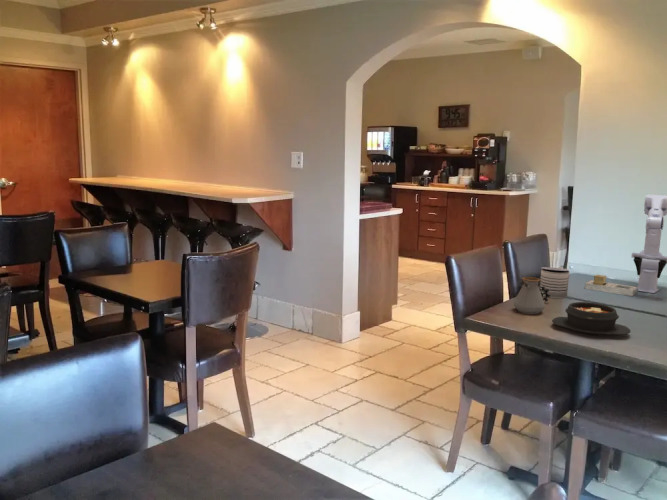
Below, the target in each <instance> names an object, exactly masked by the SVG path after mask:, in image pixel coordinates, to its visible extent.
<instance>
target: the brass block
mask: <svg viewBox="0 0 667 500" xmlns="http://www.w3.org/2000/svg"><path fill="white" fill-rule="evenodd" d="M593 280H594V284H599V285H605V284H606V282H607V276H606V275H601V274H595V275H594V276H593Z"/></svg>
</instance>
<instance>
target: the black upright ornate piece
mask: <svg viewBox="0 0 667 500" xmlns="http://www.w3.org/2000/svg"><path fill="white" fill-rule="evenodd" d="M541 288H542V289H540V287H539V289H540V291H544V292H545V293H543V292H541V295H542V298H543V301H544V303H545V302H548V301H549V299H548V298H549V297H550V295H549V294H547V292H549V290H548V289H547V290H545V287H541ZM544 294H546V297H545V296H544Z"/></svg>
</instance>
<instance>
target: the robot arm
mask: <svg viewBox="0 0 667 500" xmlns="http://www.w3.org/2000/svg"><path fill="white" fill-rule="evenodd" d="M643 206H644V209H643V211H644V214H645V215H647V218H646V221H645V238H644V247H643V250H642V251H640V252H632V253H631V258H633V262H634V266H635V269H636V276H638V284H637V287H638V292H644V293H651V294H655V293H657V292H658V291H659V289H660V288H658V280H659V279H660V278H661V275H662V273H663V270H664V269H665V267H666V265H667V256H665V255H663V253H662V252H660V248H661V247H660V246H661V238H662V231H663V229H664V223H665V218H664V217H665V216H667V195H665V194H664V195H663V194H662V195H661V194H649V193H648V194H646V195H645V198H644V205H643Z"/></svg>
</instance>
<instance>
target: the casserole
mask: <svg viewBox="0 0 667 500" xmlns="http://www.w3.org/2000/svg"><path fill="white" fill-rule="evenodd" d="M565 313H566V315H567V316H557V317H555V318H553V319H551V320H552V321H551V322H552V323H553V324H554V325H556V326H558V327H562V328H567V329H570V330H573V331H574V332H576V333H577V332H578V333H580V334H585V335H588V336H590V335H591V336H605V335H606V336H607V335H615V336H616V335H617V336H625V335H629V334H630V333H631V329H630V328H629V327H628V326H626V325H622V324H619V323H616V322H617V320H618V319H619V318H620V316H619V315H618V313H617V310H616V309H615V308H614V307H612V306H609V305H606V304H601V303H596V302H588V301H587V302H586V301H581V302H580V301H578V302H577V301H576V302H571V303H569V304H568V306H567V307H566V308H565Z"/></svg>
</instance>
